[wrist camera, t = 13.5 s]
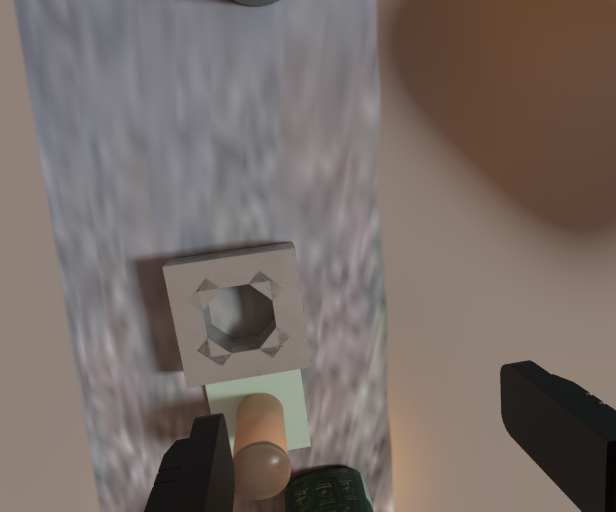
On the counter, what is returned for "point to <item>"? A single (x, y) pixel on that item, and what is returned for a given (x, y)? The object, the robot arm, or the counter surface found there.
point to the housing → (218, 345)
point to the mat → (279, 385)
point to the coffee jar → (329, 492)
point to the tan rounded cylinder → (260, 448)
